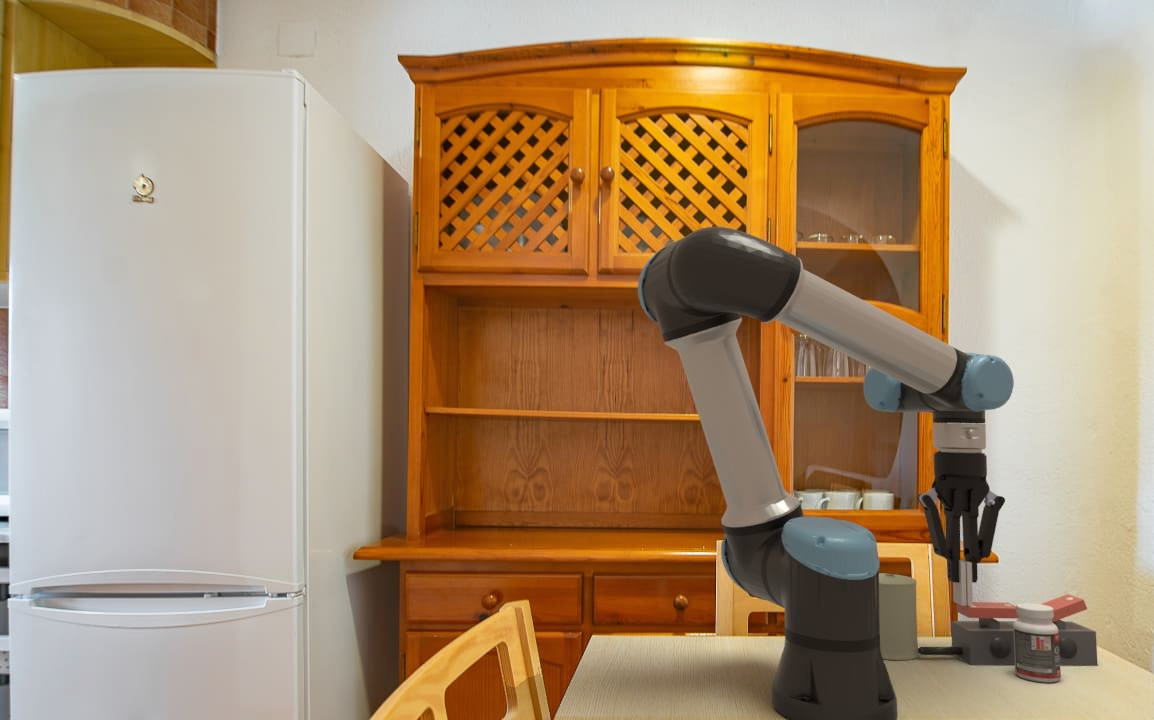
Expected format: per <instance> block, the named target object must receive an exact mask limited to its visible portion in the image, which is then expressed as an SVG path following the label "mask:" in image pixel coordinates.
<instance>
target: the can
mask: <svg viewBox="0 0 1154 720" xmlns="http://www.w3.org/2000/svg"><path fill="white" fill-rule="evenodd" d="M879 615H880V650H881V654H882V657H883V660H884V661H885V660H886V661H888V660H889V661H910V660H914V659H915V660H916V659H917V658H919V656H920V654H919V653H918V648H919V643H918V622H917V621H918V620H917V617H918V616H917V580H916V579H915V578H913V577H910V576H906V575H901V574H896V573H895V574H894V573H886V572H885V573H883V572H882V573H880V572H879Z"/></svg>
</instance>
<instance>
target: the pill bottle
mask: <svg viewBox="0 0 1154 720" xmlns="http://www.w3.org/2000/svg"><path fill="white" fill-rule="evenodd" d="M1015 606H1016V612H1017V614H1018V615H1019V619H1015V622H1014V624H1013V635H1014V659H1015V665H1014V672H1015V674H1016V675H1017V676H1018V677H1020V678H1022V679H1025V680H1027V681H1031V682H1036V683H1048V684H1049V683H1056V682H1059V681H1060V680H1061V677H1062V676H1061V675H1062V674H1061V665H1060V653H1059V632H1058V628H1057V626H1056V625H1055V624H1054V623H1052V618H1053V617H1054V611H1053V608H1052V607H1050V606H1046V605H1042V603H1033V602H1031V603H1030V602H1027V603H1026V602H1025V603H1024V602H1023V603H1017V604H1016V605H1015Z"/></svg>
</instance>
